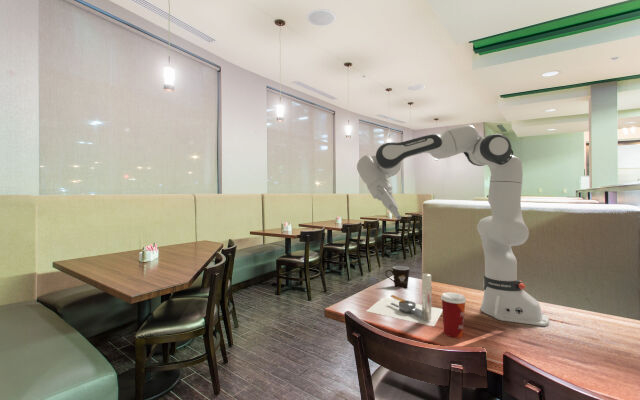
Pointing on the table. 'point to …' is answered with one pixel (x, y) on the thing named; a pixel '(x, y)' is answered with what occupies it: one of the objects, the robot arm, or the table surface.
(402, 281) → the coffee mug
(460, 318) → the paper cup
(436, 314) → the board
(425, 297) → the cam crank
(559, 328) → the table surface
